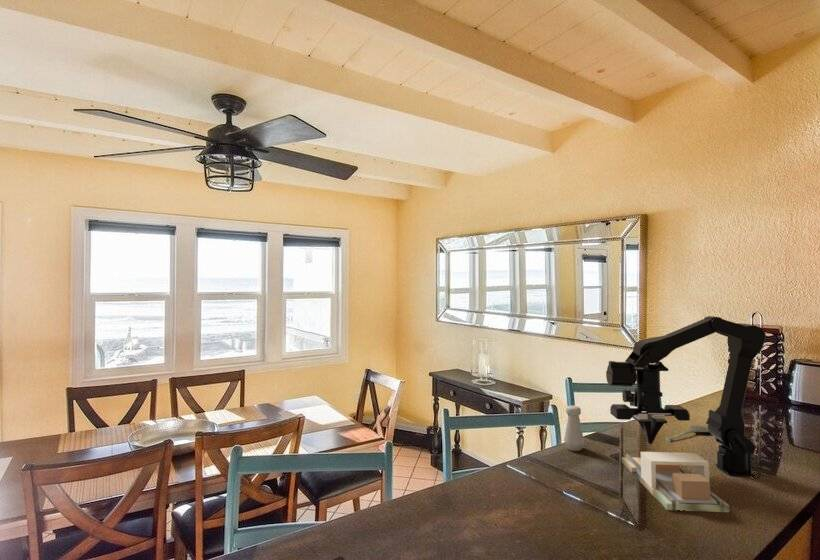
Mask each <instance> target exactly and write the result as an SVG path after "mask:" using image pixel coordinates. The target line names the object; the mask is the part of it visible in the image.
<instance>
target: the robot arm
mask: <svg viewBox="0 0 820 560" xmlns="http://www.w3.org/2000/svg"><path fill="white" fill-rule="evenodd" d="M714 333H716V334H718V335H722V336H724V337H727V344H726V345H727V347H728V350H729V360H728V365H727V371H726V375H725V379H724V385H723V388H722V389H723V390H722V394H721V400H720V404H719V406H718V407H717V408H716V409H715V410H712V409H709V411H708V417H707V420H706V422H705V424H706V425H707V428H708V430H709V432H708V433H710V435H712V436H713V437H714V439H715V441H716V442H717V444H719V445H718V450H717V451H716V457H717V459H716V463H715V467H717V468H719V470H721V471H723V473H725V474H727V475H729V476H742V477H745V476H746V477H747V476H748V477H755V476H756V473H754V472H753V471H752V456H751V455H754V453H755V451H756V448H757V446H756V445H755V444H754V443H753V442H752V441H751V440H750V439H748V438H747V437H746V427H745V426H746V424H745V420H744V416H743V414H742V412H743V411H742V410H743V405H744V402H745V399H746V398H745V397H746V392H747V387H748V384H749V378H750V374H751V368H752V364H753V361H754V359H755V358H756V357H757V356H758V354H759V353H760V352H761V351H762V349H763V346H764V344H765V342H766V339H767V337H766V336H767V335H766V332H765V331H764V330H763V328H761V327H759V326H758V325H755V324H754V325H753V324H748V323H747V324H746V323H736V322H733V321H729V320H728V319H727V320H726V319H723V318H722V317H719V316H712V315H708V316H705V317H704V318H703V319H701V320H698V321H696V322H695V321H694V322H693V323H691V324H688V325H686V326H683V327H682V328H678V329H677V330H674V331H672V332H669V333H667V334H665V335H661V336H655V337H649V338H644V339H639V340H637V341H636V342H635V343H634V346H633V348H632V351H631V352H630V354H629V356H628V357H627V358H626V359H625V361H614V360H609V361H608V365H607V369H606V372H605V376H606V377H605V378H606V381H607V385H608V386H609V387H633V385H636V387H634V392H632V391H631V390H625V389H624V390H622V391H621V392H622V394H621V395H622V402H623V403H621V404H619V403H618V404H616V403H612V404H611V406H610V409H609V411H610V413H609V414H611V415H612V417H614V418H616V419H617V420H621V421H622V420H625V421H626V420H627V421H629V420H631V419H632V418H633V420H635V421H637V422H638V424H639V426H640V428H641V429H642V432H643V435H644V438H645V440H646V443H647V444H648V445H652V444H654V441H655V439H656V437H657V435H658V434H659V432H660V430H661V428H662V427H663V426H664V424H667V423H668V420H667V419H665V417H674V418H675V419H676V420H677V421H687V422H688V421H690V420H691V418H690V417H691V416H690V411H689V410H688V409H687V408H685V407H684V406H681V405H680V404H665V406H664V408H663V407H661V403H662V402H661V397H663V396H664V395H663V392H661V372H668V371H670V370H669V368H668V367H666V366H665V365H664V363H663V362H662V360H664V359H665V358H667V357H668V356H669V355H670V354H671V353H672V352H673V351H674V350H676V349H678V348H681V347H683V346H686V345H688V344H690V343H691V344H692V343H693V342H695V341H697V340H700V339H703V338H705V337H707V336H710V335H712V334H714ZM625 403H629V406H630V407H629V406H628V405H626V404H625ZM634 407H635V408H634Z"/></svg>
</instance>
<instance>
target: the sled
mask: <svg viewBox="0 0 820 560" xmlns="http://www.w3.org/2000/svg"><path fill="white" fill-rule="evenodd" d="M643 452H649V451H643ZM675 452H676V453H678V452H677V451H675ZM680 466H681V465H656V481H657V482H658V483H659V484H660V485H661V486H662V487H663V488H664V489H665V490H666V491H667V492H668V493H669V494H670V495H671V496H672V497H673V498H674V499H675V500H676V501H677V502H678V503H706V504H717V501H716V500H715V499H713V498H712V497H711V496H710V490H711V481H710V480H709V481H708V480H707V479H706V478H704V477H703V476H702V475H701V474H691V473H689V474H683V473H682V472H681V471H680Z"/></svg>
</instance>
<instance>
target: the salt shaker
mask: <svg viewBox="0 0 820 560" xmlns="http://www.w3.org/2000/svg"><path fill="white" fill-rule="evenodd" d="M565 413H566V415H567V416H568V417H567V421H566V426H565V427H566V428H565V432H564V437H563V441H564V443H565V446H566V449H567V450H569V451H572V452H580V451H582V449H583V447H584V444H585V441H584V440H585V439H584V434H583V430H582V426H581V420H580V415H581V413H582V410H581V407H580V406H577V405H571V404H570V405H567V406H566V407H565Z"/></svg>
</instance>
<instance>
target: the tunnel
mask: <svg viewBox="0 0 820 560" xmlns="http://www.w3.org/2000/svg"><path fill="white" fill-rule="evenodd" d="M676 452H677V451H648V452H644V451H640V458H641V477H642V478H643V479H644V480H645V482H646V483H647V484H648V485H649V486H650V487H651V488H656V465H680V466H690V470H691V471H690V474H701V475H702V476H703V477H704V478H706V479H707V480H708V481H710V463H709V461H708V460H706V459H705V458H703V457H702V456H700V455H699V454H697V453H696V452H677V453H676Z"/></svg>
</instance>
